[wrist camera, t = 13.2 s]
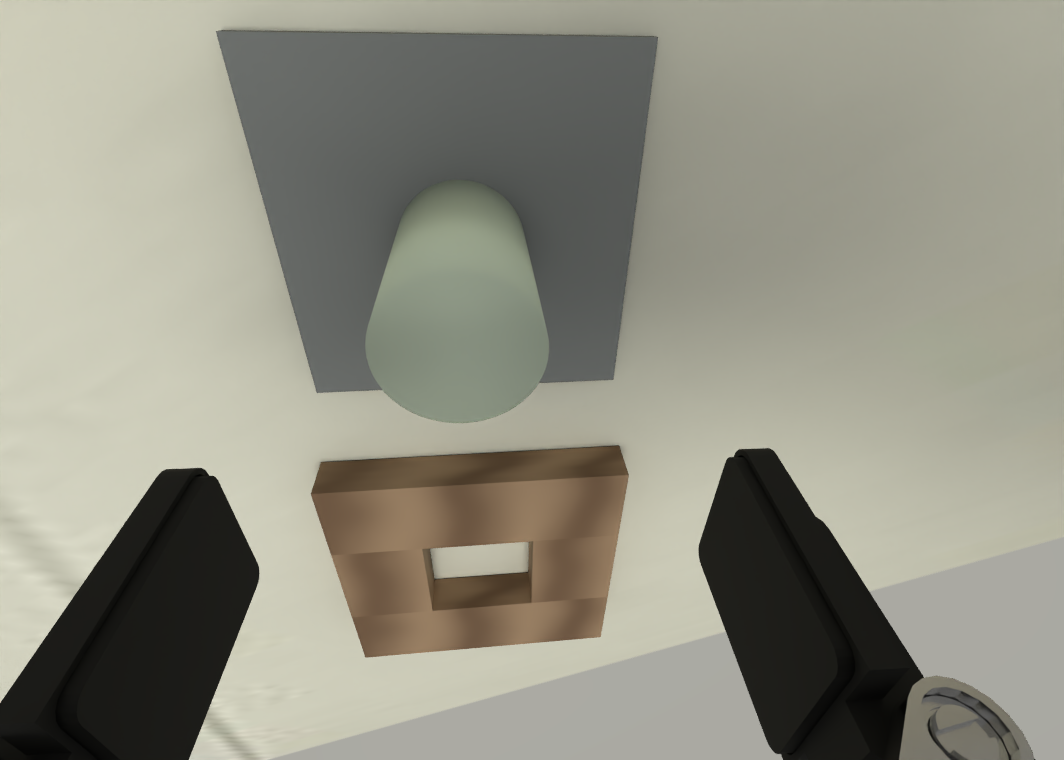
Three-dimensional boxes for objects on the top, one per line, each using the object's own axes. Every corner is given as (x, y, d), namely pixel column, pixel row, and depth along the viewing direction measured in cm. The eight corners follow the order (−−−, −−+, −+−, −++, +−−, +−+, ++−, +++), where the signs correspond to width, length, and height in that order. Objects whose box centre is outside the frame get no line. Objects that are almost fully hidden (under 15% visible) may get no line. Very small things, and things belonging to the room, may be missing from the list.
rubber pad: (652, 36, 18) (658, 37, 18) (610, 372, 26) (613, 379, 26) (223, 30, 17) (215, 31, 16) (319, 385, 25) (316, 392, 24)
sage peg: (525, 178, 20) (552, 266, 13) (524, 299, 23) (546, 418, 16) (389, 180, 19) (349, 271, 13) (406, 302, 22) (380, 427, 16)
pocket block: (618, 445, 29) (628, 474, 27) (594, 607, 39) (600, 637, 37) (321, 462, 28) (310, 494, 26) (370, 626, 37) (365, 657, 35)
